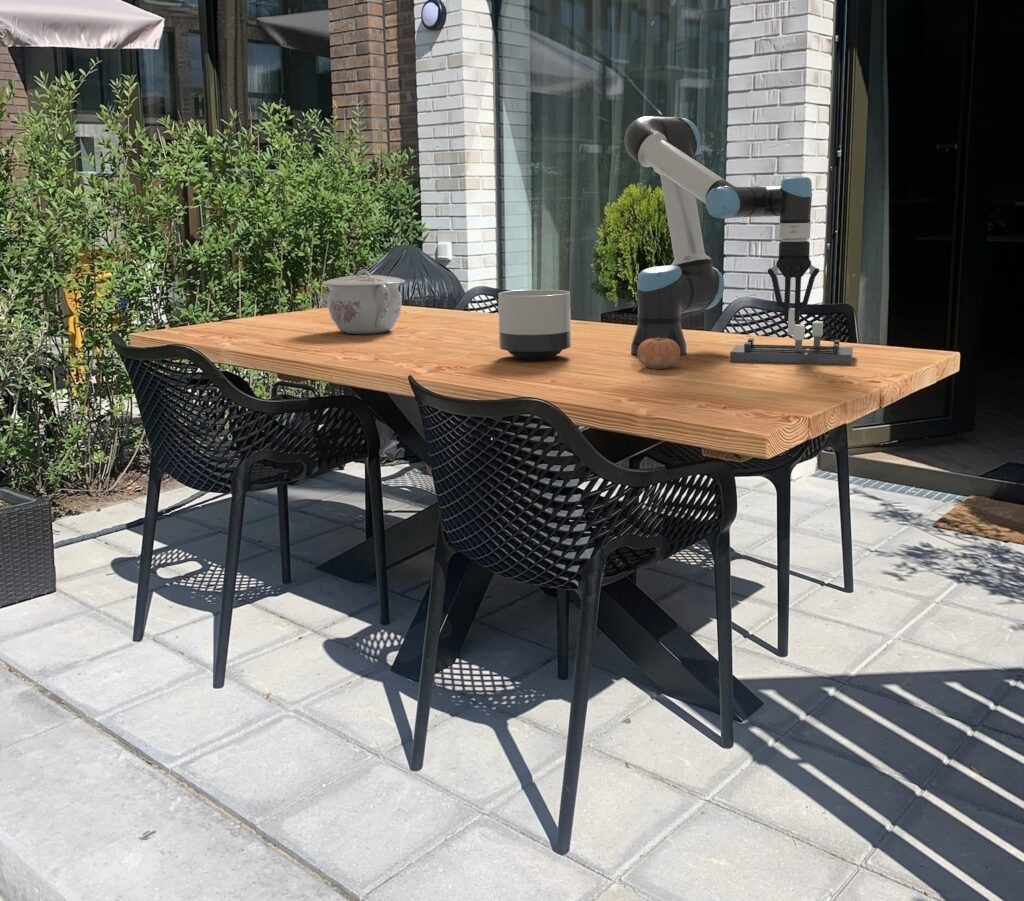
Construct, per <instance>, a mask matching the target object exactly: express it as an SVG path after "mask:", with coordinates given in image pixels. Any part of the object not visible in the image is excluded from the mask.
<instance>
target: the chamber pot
mask: <svg viewBox="0 0 1024 901" xmlns="http://www.w3.org/2000/svg"><path fill="white" fill-rule="evenodd" d="M363 273H364V274H363ZM405 282H406V280H405V279H403V278H400V277H396V276H395V277H394V276H390V275H389V276H388V275H381V274H380V275H379V274H371V273H370V272H369V271H368V270H367V269H364V268H361V269H360V270H358V271H357V272H356V274H354V275H348V276H340V277H336V278H332V279H327V280H325V281H323V282H322V283H321V285H322V286H324V287H327V288H328V290H329V293H328V295H327V297H326V306H327V308H328V309H327V310H328V312H329V313H328V314H329V317H330V319H331V320H332V322H333V323H334V325H335V327H336V328H337V329H338V330H339V331H341V332H343V333H346V334H348V335H377V334H383V333H386V332H388V331H391V330H392V329H393V328H394V326H395V325H396V323H397V321H398V319H399V317H400V314H401V311H402V309H401V308H402V302H403V301H402V300H403V298H402V294H401V291H399V286H400V284H404V283H405Z"/></svg>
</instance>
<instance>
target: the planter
mask: <svg viewBox="0 0 1024 901" xmlns="http://www.w3.org/2000/svg"><path fill="white" fill-rule="evenodd" d="M497 299H498V333H499V334H498V336H499V337H498V338H499V339H498V340H499V341H498V342H499V344H498V345H499V349H501V350H502V351H507V352H508V353H509V354H510V355H512V356H513V357H515V358H517V359H520V360H524V361H545V360H549V359H551V358H554V357H556V356H557V355H559V354H560V353H561V352H562V351H563V350H567V349H570V348H571V346H572V344H571V338H572V337H571V331H572V330H571V292H570V291H569V290H563V289H540V288H539V289H516V290H514V289H513V290H506V291H501V292H498V298H497Z"/></svg>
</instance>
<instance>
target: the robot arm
mask: <svg viewBox="0 0 1024 901" xmlns="http://www.w3.org/2000/svg"><path fill="white" fill-rule="evenodd" d="M700 147H701V136H700V132H699V130H698V127H697V126H696V124H695V123H694V122H693V121H691V120H690V119H688V118H684V117H679V116H652V115H650V116H649V115H646V116H641V117H639V118H637V119H635V120H633V122H631V124H629V126H628V127H627V129H626V130H625V134H624V148H625V150H626V152H627V153H628V155H629V156H630V157H631V158H632V160H634V161H635V162H636V163H638V164H639V165H641V166H642V167H644V168H652V169H653V172H655V173H656V174H658V175H659V176H660V182H661V189H662V194H663V201H664V207H665V212H666V213H665V214H666V218H667V223H668V230H669V237H670V241H671V247H672V253H673V262H672V263H671V264H669V265H667V264H666V265H659V266H652V267H648V268H645V269H643V270H641V271H640V272H639V273H638V278H637V285H636V287H637V327H636V330H635V332H634V334H633V338H632V342H631V346H630V353H631V354H633V355H636V356H637V351H638V348H639V346H640V344H641V343H642V342H643V341H645V340H647V339H651V338H654V337H655V338H658V337H659V338H668V339H671V340H674V341H675V342H676V343H677V344H678V346H679V348H680V356H681V355H685V354H687V342H686V340H685V335H684V332H683V330H682V325H681V313H685V312H687V313H689V312H701V311H705V310H709V309H712V308H714V307H716V306H717V304H718V303H720V301H721V299H722V298H723V295H724V292H725V291H724V290H725V279H724V276H723V274H722V272H721V271H719V269H718V268H715V266H713V260H712V257H710V256H709V255H707V254H706V252H705V246H704V240H703V235H702V229H701V223H700V215H699V212H698V211H699V210H698V204H697V200H699V201H700V202H702V203H704V204H705V209H706V210H707V212H708V214H709V216H711V217H713V218H714V219H715V218H716V219H722V220H723V219H724V220H725V219H726V220H727V219H734V218H735V219H737V218H763V217H779V234H778V235H779V236H778V238H779V239H780V240H781V241H780V242H779V243H778V258H777V261H776V263H775V265H774V266H773V267H770V268H768V269H767V274H768V275H769V277H770V278H771V283H772V287H773V291H774V296H775V300H776V305H777V306H778V307H780V308H782V309H783V320H784V322H788V323H787V336H794V326H795V324H796V322H799V321H800V318H801V308H804V307H807V306H808V303H809V300H810V296H811V294H812V289H813V286H814V282H815V280H816V277H817V275H818V274H819V273H820V268H818V267H815V266H814V265H813V264H812V261H811V259H810V251H811V250H810V249H811V242H810V241H809V239H810V238H811V214H812V213H811V212H812V202H813V200H812V199H813V191H812V189H813V187H812V185H813V184H812V179H811V178H810V177H808V176H799V177H798V176H797V177H795V176H792V177H791V176H790V177H783V178H782V179H781V180H780V185H778V186H777V185H776V186H775V185H774V186H773V185H772V186H771V185H770V186H769V185H767V186H764V185H763V186H762V185H760V186H759V185H758V186H757V185H756V186H754V185H753V186H737V185H736V186H735V185H733V184H732V183H731V182H728V180H726V179H724V178H723V177H721V176H720V175H718V174H716V173H715V172H714V171H713V170H711V169H709V168H708V167H706V166H704V165H703V164H702V163H700V162H698V161H697V160H695V159H696V156H697V155H698V153H699V151H700V149H699V148H700ZM696 198H697V199H696ZM808 269H809V275H810V276H809V279H808V282H807V285H806V289H805V293H804V295H803V298H802V301H801V295H802V294H801V292H802V290H801V289H802V277H803V276H804V275H805V274H806V272H807V271H808ZM778 270H779V271H780V273H781V274H782V275H783V277H784V300H783V298H782V293H781V289H780V284H779V279H778V276H777V274H778V273H779V271H778ZM792 278H794V280H795V283H794V284H795V285H794V286H795V287H794V290H795V291H794V308H793V307H791V285H792V284H791V283H792V282H791V281H792Z"/></svg>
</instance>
